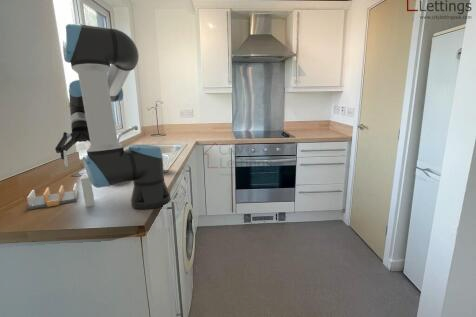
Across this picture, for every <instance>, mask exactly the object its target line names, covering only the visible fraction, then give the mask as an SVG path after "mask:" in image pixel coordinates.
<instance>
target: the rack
mask: <svg viewBox="0 0 476 317" xmlns="http://www.w3.org/2000/svg"><path fill="white" fill-rule="evenodd" d="M50 191H51V190H50V187H46V189H45V191H44V192H43V194H42V195H39V196H36V193H35V189H32V190H31V191H30V192H29V194H28V196H27V197H26V199H27V203H28V207H27V208H28V210H34V209H40V208H45V207H47V208H48V207H53V206H54V207H55V206H59V205H63V204H67V203H74V202H78V196H79V190H78V185H77V183H76V182H75V183H74V184H73V189H72V190H69V191H65V189H64V185H60V187H59V190H58V192H57V193H52V194H51V192H50Z"/></svg>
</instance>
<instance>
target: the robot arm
mask: <svg viewBox="0 0 476 317" xmlns="http://www.w3.org/2000/svg"><path fill="white" fill-rule="evenodd" d="M62 51H63V52H62V53H63V59H64V61H65V62H66V63H68V64H70V66H71V69H72V70H73V71H74V72H76V73H77V75H78V79H75V80H74V79H73V80H72V81H71V82H70V83H69V85H68V86H69V87H68V93H69V100H68V101H69V102H68V107H69V114H70V124H71V132H70V133H67V132H63V135H62V137H61V139H60V140H59V142H58V143H57V145H56V146H55V149H54V150H55V152H56V153H57V154H60V158H61V160H63V161H64V162H63V163H64V166H65V167H67V168H68V164H69V162H68V153H67V151H68V150H70V149H71V148H72V146H74V145H75V144H77V143H81V142H87V141H88V142H89V143H90V146H89V147H88V148H87V149H86V153H87V154H86V155H84V156H83V157H82V161H83V165H84V168H85V172H86V174H87V175H88V177H89V179H90V181H91V183H92V187H95V188H98V189H99V188H106V187H109V188H110V186H115V185H120V184H124V183H129V182H133V188H132V193H131V198H130V206H131V207H132V208H134V209H137V210H150V209H151V210H152V209H156V208H160V207H162V206H165V205H167V204H168V203H170V202H171V200H172V199H171V198H172V197H171V193H170V191H169V189H168V186H167V184H166V182H165V174H164V159H163V152H162V149H161V148H160V147H159V146H157V145H153V144H151V145H150V144H132V145H130V146H128V150H127V149H126V150H125V149H124V145H123V144H121V143H120V142H119V141H118V135H117V134H118V133H117V128H116V122H115V117H114V111H113V105H112V102H122V101H123V99H124V91H123V90H124V89H123V86H124V84H125V82H126V81H127V79H128V76H129V74H130V72H131V71H133V70H134V69H135V68H136V67H137V65H138V62H139V57H140V56H139V50H138V48H137V46H136V44H135V42H134V40H133V39H132V38H131V37H130V36H129V35H127V34H126V33H125V32H124V31H121V30H119V29H116V28H107V27H100V26H94V25H87V24H82V23H80V24H76V23H67V24H65V26H64V28H63V34H62ZM69 139H70V140H69ZM67 141H68V142H67ZM161 152H162V153H161ZM162 159H163V160H162Z"/></svg>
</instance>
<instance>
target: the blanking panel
mask: <svg viewBox="0 0 476 317" xmlns="http://www.w3.org/2000/svg"><path fill="white" fill-rule="evenodd" d="M80 182H81V188H82V193H83V200H84V205H85V207H92V206H95V197H94V196H95V195H94V190H93V185H92V183H91V181H90V179H89V177H88V175H87V173H86V174H82V175H81V176H80Z"/></svg>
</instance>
